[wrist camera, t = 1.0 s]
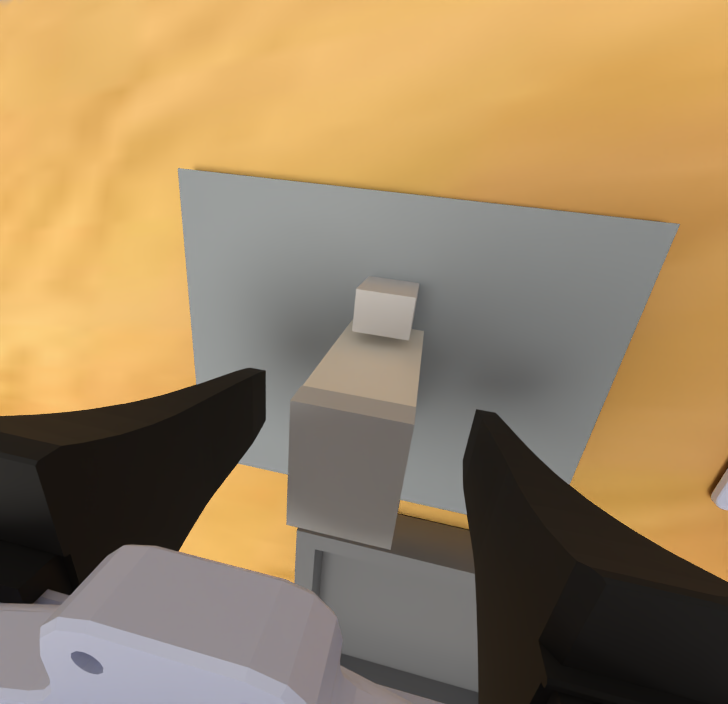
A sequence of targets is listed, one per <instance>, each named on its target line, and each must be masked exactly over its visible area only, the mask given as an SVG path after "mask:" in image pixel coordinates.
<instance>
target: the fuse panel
mask: <svg viewBox="0 0 728 704" xmlns="http://www.w3.org/2000/svg"><path fill="white" fill-rule="evenodd" d="M178 176H179V188H180V199H181V211H182V223H183V234H184V246H185V257H186V269H187V281H188V292H189V304H190V315H191V327H192V338H193V350H194V362H195V373H196V385H197V384H200V383H203V382H206V381H209V380H211V379H214V378H217V377H220V376H223V375H226V374H229V373H232V372H235V371H238V370H241V369H245V368H255V369H260V370H266V421H265V423H264V425H263V427H262V428H261V430H260V432H259V434H258V436H257V437H256V439H255V441H254V442H253V444H252V445H251V447H250V448H249V449H248V451H247V452H246V453H245V455H244V456H243V457H242V459H241V460H240V461H239V462H238V464H243V465H247V466H252V467H256V468H261V469H265V470H270V471H274V472H279V473H283V474H288V456H289V422H290V400H291V399H292V397H293V396H294V395H295V393H296V392H297V391H298V389H299V388H300V387H301V385H302V386H303V384H304V383H305V382H306V380H307V379H308V378H309V376H310V375H311V374H312V372H313V371H314V370H315V368H316V367H317V366H318V364H319V363H320V362H321V361H322V359H323V358H324V357H325V355H326V354H327V353H328V351H329V350H330V349H331V347H332V346H333V345H334V343H335V342H336V341H337V339H338V338H339V337H340V335H341V334H342V333H343V331H344V330H345V329H346V327H347V326H348V325H349V323H350V322H351V321H352V320H353V326H352V331H353V332H360V333H366V334H372V335H378V336H384V337H390V338H396V339H402V340H408V341H409V338H410V334H411V329H414V330H421V331H424V336H423V346H422V355H421V365H420V374H419V384H418V393H417V403H416V414H415V423H414V429H413V434H412V440H411V445H410V450H409V455H408V461H407V466H406V471H405V476H404V482H403V487H402V492H401V497H400V500H404V501H408V502H413V503H417V504H422V505H426V506H430V507H435V508H439V509H444V510H448V511H453V512H457V513H462V514H466V515H467V511H466V505H465V498H464V491H463V457H464V453H465V449H466V445H467V442H468V438H469V434H470V430H471V427H472V423H473V419H474V415H475V411H476V409H478V410H484V411H489V412H495V413H496V414H498V415H499V416H500V417H501V419H502V420H503V421H504V422H505V423H506V424H507V425H508V426H509V427H510V428H511V429H512V431H513V432H514V433H515V434H516V435H517V436H518V437H519V438H520V439H521V440H522V441H523V442H524V443H525V444H526V446H527V447H528V448H529V449H530V450H531V451H532V452H533V453H534V454H535V455H536V456H537V457H538V458H539V459H540V460H542V461H543V462H544V463H545V464H546V465H547V466H548V467H549V468H550V469H551V470H552V471H553V472H554V473H556V474H557V475H558V476H559V477H560V478H561V479H563V480H564V481H565V482H566V483H567V484H570V482H571V480H572V477H573V475H574V473H575V470H576V468H577V466H578V463H579V461H580V458H581V456H582V454H583V451H584V449H585V447H586V444H587V442H588V440H589V437H590V435H591V433H592V430H593V428H594V425H595V423H596V421H597V418H598V416H599V414H600V411H601V409H602V407H603V404H604V402H605V400H606V397H607V395H608V392H609V390H610V388H611V385H612V383H613V381H614V378H615V376H616V374H617V371H618V369H619V367H620V364H621V362H622V359H623V357H624V355H625V352H626V350H627V348H628V345H629V343H630V341H631V338H632V336H633V334H634V331H635V329H636V326H637V324H638V322H639V319H640V317H641V315H642V312H643V310H644V308H645V305H646V303H647V301H648V298H649V296H650V293H651V291H652V289H653V286H654V284H655V282H656V279H657V277H658V275H659V272H660V270H661V268H662V265H663V263H664V260H665V258H666V256H667V253H668V251H669V249H670V246H671V244H672V242H673V239H674V237H675V235H676V232H677V230H678V227H679V225H680V224H674V223H665V222H656V221H647V220H638V219H629V218H620V217H611V216H603V215H594V214H585V213H576V212H567V211H558V210H549V209H540V208H531V207H522V206H513V205H504V204H495V203H486V202H477V201H468V200H459V199H450V198H441V197H432V196H423V195H414V194H405V193H396V192H387V191H378V190H369V189H360V188H351V187H342V186H333V185H324V184H315V183H306V182H297V181H288V180H279V179H270V178H261V177H252V176H243V175H234V174H225V173H216V172H207V171H198V170H189V169H180V168H178Z"/></svg>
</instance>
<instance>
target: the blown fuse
mask: <svg viewBox="0 0 728 704" xmlns="http://www.w3.org/2000/svg"><path fill="white" fill-rule="evenodd" d="M352 326H353V320H352V321H351V322H350V323H349V325H348V326H347V327H346V329H345V330H344V331H343V333H342V334H341V335H340V337H339V338H338V339H337V341H336V342H335V343H334V345H333V346H332V347H331V349H330V350H329V351H328V353H327V354H326V355H325V357H324V358H323V359H322V361H321V362H320V363H319V364H318V366H317V367H316V368H315V370H314V371H313V372H312V374H311V375H310V376H309V378H308V379H307V380H306V382H305V383H304V384H303V386H302V385H301V387H300V388H299V389H298V391H297V392H296V393H295V395H294V396H293V397H292V399H291V400H290V422H289V456H288V490H287V524H286V525H290V526H294V527H298V528H303V529H307V530H311V531H315V532H319V533H323V534H327V535H331V536H335V537H340V538H344V539H348V540H352V541H356V542H360V543H364V544H368V545H372V546H377V547H381V548H385V549H389V550H391V544H392V539H393V534H394V529H395V523H396V518H397V513H398V508H399V502H400V497H401V492H402V487H403V482H404V476H405V471H406V466H407V461H408V455H409V450H410V445H411V440H412V434H413V429H414V423H415V414H416V403H417V393H418V384H419V374H420V365H421V355H422V346H423V336H424V331H421V330H414V329H411V334H410V338H409V341H408V340H402V339H396V338H390V337H384V336H378V335H372V334H366V333H360V332H353V331H352Z"/></svg>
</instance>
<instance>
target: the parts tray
mask: <svg viewBox="0 0 728 704" xmlns="http://www.w3.org/2000/svg"><path fill="white" fill-rule="evenodd" d="M295 584H297V585H299V586H301V587H304V588H306V589H308V590H310V591H312V592H314V593H315V594H316V595H317V596H318V597H319V598H320V599H321V600H322V601H323V602H324V603H325V604H326V605H327V606H328V607H329V608H330V609H331V610H332V611H333V612H334V614H335V615H336V617H337V619H338V623H339V627H340V631H341V634H342V638H343V643H342V650H341V658H340V665H341V666H343V667H344V668H346V669H348V670H350V671H352V672H354V673H356V674H358V675H360V676H362V677H364V678H366V679H368V680H370V681H372V682H373V683H375V684H379V685H382V686H385V687H389V688H392V689H396V690H399V691H403V692H406V693H410V694H413V695H417V696H420V697H424V698H427V699H431V700H434V701H437V702H441V703H444V704H478V641H477V611H476V588H475V568H474V559H473V550H472V544H471V537H470V531H469V530H466V529H461V528H457V527H452V526H448V525H444V524H439V523H435V522H431V521H426V520H422V519H418V518H413V517H409V516H404V515H400V514H397V518H396V523H395V529H394V534H393V539H392V544H391V550H389V549H385V548H381V547H377V546H372V545H368V544H364V543H360V542H356V541H352V540H348V539H344V538H340V537H335V536H331V535H327V534H323V533H319V532H315V531H311V530H307V529H303V528H298V529H297V539H296V561H295Z"/></svg>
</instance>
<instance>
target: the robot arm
mask: <svg viewBox="0 0 728 704" xmlns="http://www.w3.org/2000/svg"><path fill="white" fill-rule="evenodd" d="M265 421H266V370H260V369H255V368H245V369H241V370H238V371H235V372H232V373H229V374H226V375H223V376H220V377H217V378H214V379H211V380H209V381H206V382H203V383H200V384H197V385H194V386H191V387H187V388H184V389H181V390H178V391H175V392H171V393H168V394H164V395H161V396H157V397H153V398H149V399H144V400H140V401H136V402H131V403H126V404H120V405H114V406H108V407H102V408H96V409H89V410H81V411H72V412H62V413H52V414H39V415H18V416H0V704H444V703H441V702H437V701H434V700H431V699H427V698H424V697H420V696H417V695H413V694H410V693H406V692H403V691H399V690H396V689H392V688H389V687H385V686H382V685H379V684H375V683H373V682H372V681H370V680H368V679H366V678H364V677H362V676H360V675H358V674H356V673H354V672H352V671H350V670H348V669H346V668H344V667H343V666H341V665H340V658H341V650H342V643H343V638H342V634H341V631H340V627H339V623H338V619H337V617H336V615H335V614H334V612H333V611H332V610H331V609H330V608H329V607H328V606H327V605H326V604H325V603H324V602H323V601H322V600H321V599H320V598H319V597H318V596H317V595H316V594H315V593H314V592H312V591H310V590H308V589H306V588H304V587H301V586H299V585H297V584H295V583H292V582H290V581H288V580H286V579H282V578H278V577H274V576H270V575H267V574H263V573H259V572H255V571H251V570H247V569H243V568H240V567H236V566H232V565H228V564H224V563H220V562H216V561H213V560H209V559H205V558H201V557H197V556H193V555H189V554H186V553H182V552H178V551H179V549H180V548H181V546H182V544H183V542H184V541H185V539H186V537H187V536H188V534H189V532H190V530H191V529H192V527H193V526H194V524H195V522H196V521H197V519H198V518H199V516H200V514H201V513H202V511H203V510H204V508H205V506H206V505H207V503H208V502H209V500H210V499H211V498H212V496H213V495H214V493H215V492H216V491H217V489H218V488H219V487H220V486H221V484H222V483H223V482H224V480H225V479H226V478H227V477H228V475H229V474H230V473H231V471H232V470H233V469H234V468H235V466H236V465H237V464H238V462H239V461H240V460H241V459H242V457H243V456H244V455H245V453H246V452H247V451H248V449H249V448H250V447H251V445H252V444H253V442H254V441H255V439H256V437H257V436H258V434H259V432H260V430H261V428H262V427H263V425H264V423H265ZM463 491H464V498H465V505H466V511H467V518H468V524H469V531H470V537H471V544H472V550H473V559H474V568H475V588H476V611H477V641H478V704H728V582H727V581H725V580H723V579H721V578H719V577H717V576H715V575H713V574H711V573H709V572H707V571H705V570H703V569H702V568H700V567H698V566H696V565H694V564H692V563H690V562H688V561H686V560H684V559H682V558H680V557H678V556H677V555H675V554H673V553H671V552H669V551H667V550H666V549H664V548H662V547H661V546H659V545H657V544H655V543H654V542H652V541H650V540H649V539H647V538H645V537H644V536H642V535H640V534H638V533H637V532H635V531H634V530H632V529H630V528H629V527H627V526H626V525H624V524H623V523H621V522H619V521H618V520H617V519H615V518H614V517H612V516H611V515H609V514H608V513H606V512H605V511H603V510H602V509H600V508H599V507H597V506H596V505H595V504H593V503H592V502H591V501H589V500H588V499H586V498H585V497H584V496H583V495H581V494H580V493H579V492H577V491H576V490H575V489H574V488H572V487H571V486H570V485H569V484H567V483H566V482H565V481H564V480H563V479H561V478H560V477H559V476H558V475H557V474H556V473H554V472H553V471H552V470H551V469H550V468H549V467H548V466H547V465H546V464H545V463H544V462H543V461H542V460H540V459H539V458H538V457H537V456H536V455H535V454H534V453H533V452H532V451H531V450H530V449H529V448H528V447H527V446H526V444H525V443H524V442H523V441H522V440H521V439H520V438H519V437H518V436H517V435H516V434H515V433H514V432H513V431H512V429H511V428H510V427H509V426H508V425H507V424H506V423H505V422H504V421H503V420H502V419H501V417H500V416H499V415H498V414H496V413H495V412H489V411H484V410H478V409H476V411H475V415H474V419H473V423H472V427H471V430H470V434H469V438H468V442H467V445H466V449H465V453H464V457H463ZM711 499H712V501H713V502H714V503H715V504H716V505H717V506H718V507H719V508H721V509H723V510H728V469H727V470H726V472H725V473H724V475H723V477H722V478H721V480H720V481H719V483H718V484H717V486H716V488H715V489H714V491H713V492H712V495H711Z"/></svg>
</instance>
